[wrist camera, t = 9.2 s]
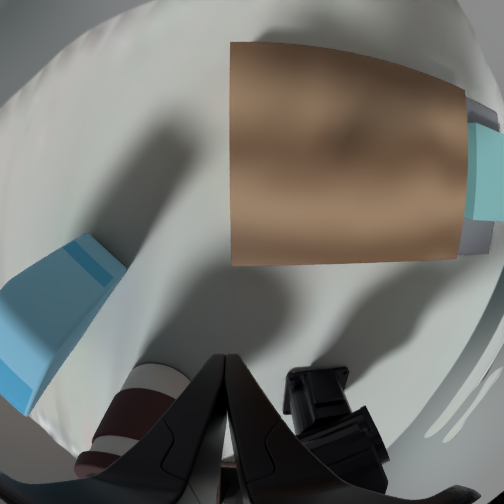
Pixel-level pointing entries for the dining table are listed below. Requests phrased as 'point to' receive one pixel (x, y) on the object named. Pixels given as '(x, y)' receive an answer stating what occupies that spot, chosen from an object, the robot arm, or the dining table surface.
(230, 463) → the letter holder
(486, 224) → the mat
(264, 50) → the brown flat block
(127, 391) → the coffee cup
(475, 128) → the teal foam pad
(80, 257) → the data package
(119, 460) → the robot arm
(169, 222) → the dining table surface
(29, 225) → the dining table surface
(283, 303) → the dining table surface
